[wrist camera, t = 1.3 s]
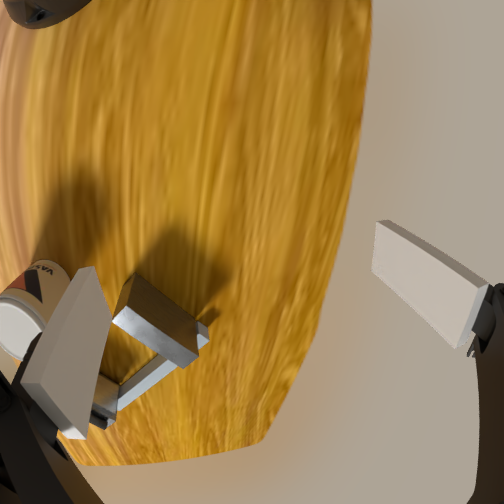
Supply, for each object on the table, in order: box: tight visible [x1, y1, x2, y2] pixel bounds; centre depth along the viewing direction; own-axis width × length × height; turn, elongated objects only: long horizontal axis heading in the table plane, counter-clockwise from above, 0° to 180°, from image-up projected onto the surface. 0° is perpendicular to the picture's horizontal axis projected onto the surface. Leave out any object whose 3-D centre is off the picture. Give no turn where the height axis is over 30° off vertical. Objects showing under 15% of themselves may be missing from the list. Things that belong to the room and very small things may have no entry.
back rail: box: [117, 321, 209, 411], centre depth 42 cm, size 2×24×3 cm, turn 131°
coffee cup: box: [0, 260, 71, 361], centre depth 28 cm, size 9×9×12 cm
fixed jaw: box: [112, 272, 199, 369], centre depth 35 cm, size 11×4×8 cm, turn 41°
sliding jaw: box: [89, 373, 120, 430], centre depth 36 cm, size 11×4×10 cm, turn 41°
